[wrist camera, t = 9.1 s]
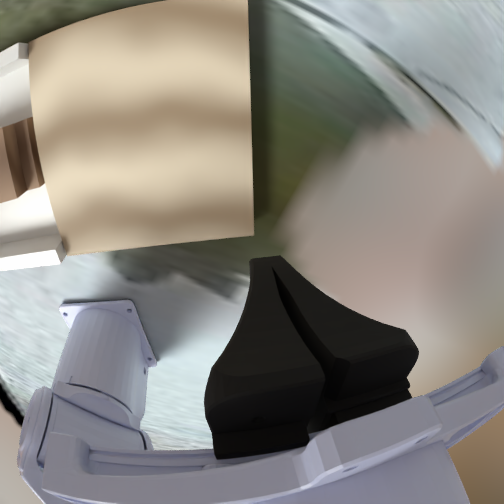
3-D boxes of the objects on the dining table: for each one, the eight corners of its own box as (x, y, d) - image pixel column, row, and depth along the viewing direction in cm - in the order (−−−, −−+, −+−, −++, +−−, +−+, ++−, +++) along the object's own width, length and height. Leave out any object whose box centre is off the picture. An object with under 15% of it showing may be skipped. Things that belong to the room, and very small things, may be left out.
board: (249, 222, 22) (254, 235, 20) (76, 242, 20) (67, 256, 18) (243, 3, 13) (247, -5, 11) (42, 44, 11) (28, 42, 10)
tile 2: (49, 180, 17) (39, 187, 15) (4, 192, 16) (-6, 200, 15) (37, 115, 14) (26, 118, 13) (-9, 134, 13) (-20, 139, 12)
